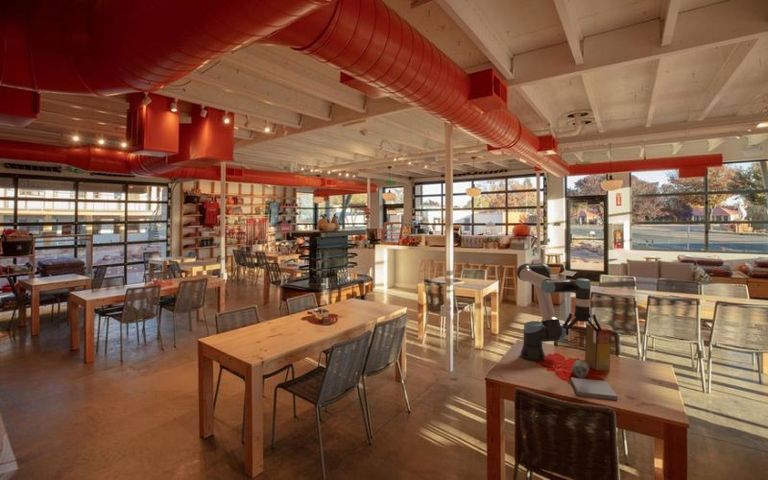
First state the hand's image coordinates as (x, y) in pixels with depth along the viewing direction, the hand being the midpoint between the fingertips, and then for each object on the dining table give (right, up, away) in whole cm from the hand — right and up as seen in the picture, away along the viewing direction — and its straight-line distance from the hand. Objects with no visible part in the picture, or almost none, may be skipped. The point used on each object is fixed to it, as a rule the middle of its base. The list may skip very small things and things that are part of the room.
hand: (581, 341), depth 218 cm
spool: (0, -21, +1) cm, 21 cm away
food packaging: (+17, -20, +14) cm, 30 cm away
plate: (-3, -21, -17) cm, 28 cm away
